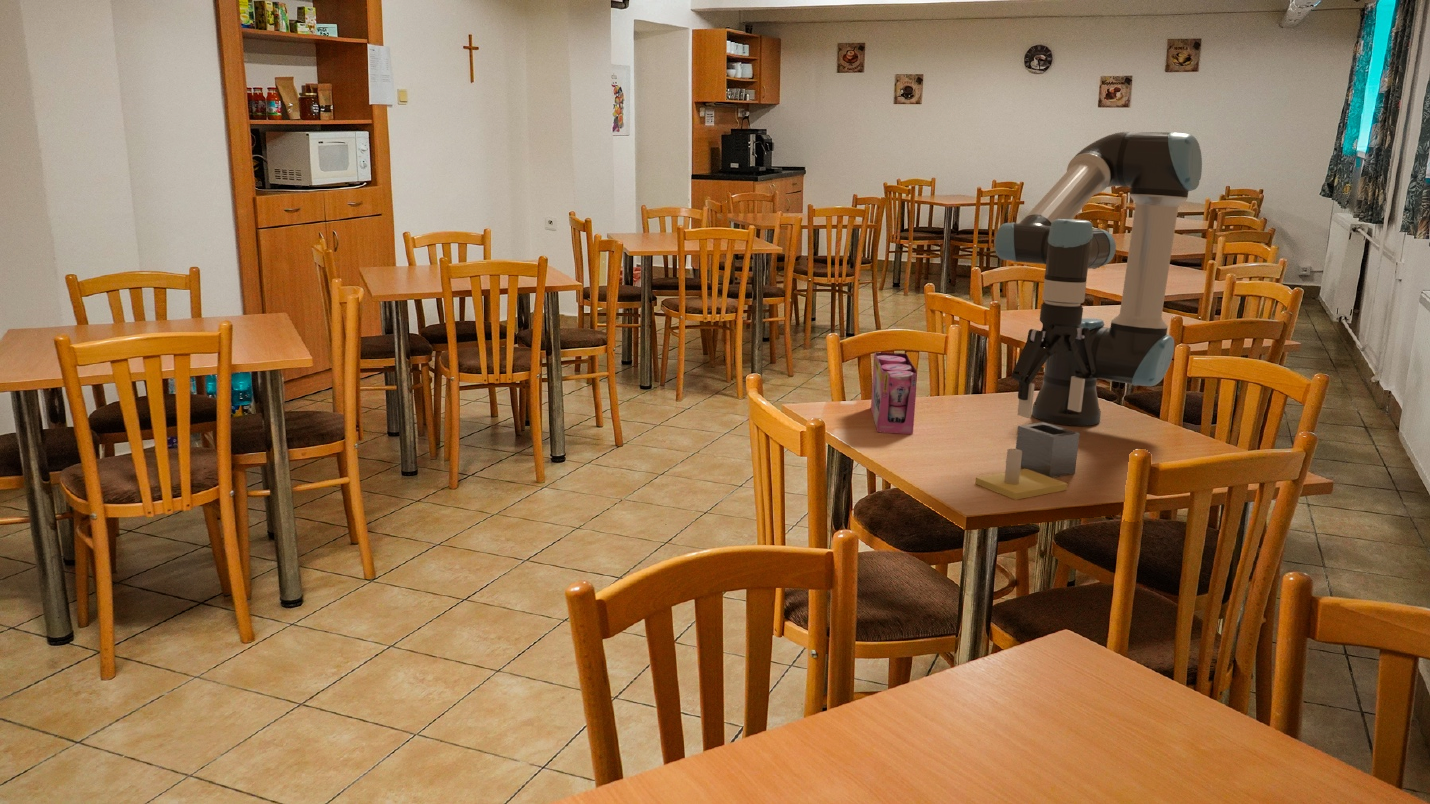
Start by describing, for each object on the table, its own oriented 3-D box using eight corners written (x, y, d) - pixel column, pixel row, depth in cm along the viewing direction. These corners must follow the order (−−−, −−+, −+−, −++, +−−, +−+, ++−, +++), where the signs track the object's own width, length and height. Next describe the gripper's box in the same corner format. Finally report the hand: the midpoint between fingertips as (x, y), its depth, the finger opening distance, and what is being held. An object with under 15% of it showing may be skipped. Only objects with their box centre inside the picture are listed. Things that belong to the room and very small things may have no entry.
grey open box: (1014, 465, 207) (1018, 425, 205) (1039, 460, 211) (1043, 422, 209) (1049, 478, 200) (1053, 437, 198) (1074, 473, 203) (1079, 433, 201)
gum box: (914, 436, 226) (919, 374, 223) (877, 434, 226) (881, 372, 223) (903, 409, 249) (907, 353, 246) (869, 408, 250) (873, 351, 246)
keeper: (1025, 474, 201) (1029, 438, 200) (1066, 489, 193) (1071, 452, 191) (975, 483, 195) (978, 446, 193) (1015, 499, 187) (1019, 460, 185)
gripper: (1092, 298, 207) (1079, 403, 212) (999, 302, 194) (987, 414, 199) (1123, 303, 201) (1109, 412, 205) (1029, 308, 188) (1017, 423, 193)
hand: (1049, 413), depth 202 cm, fingers open, 13 cm apart
